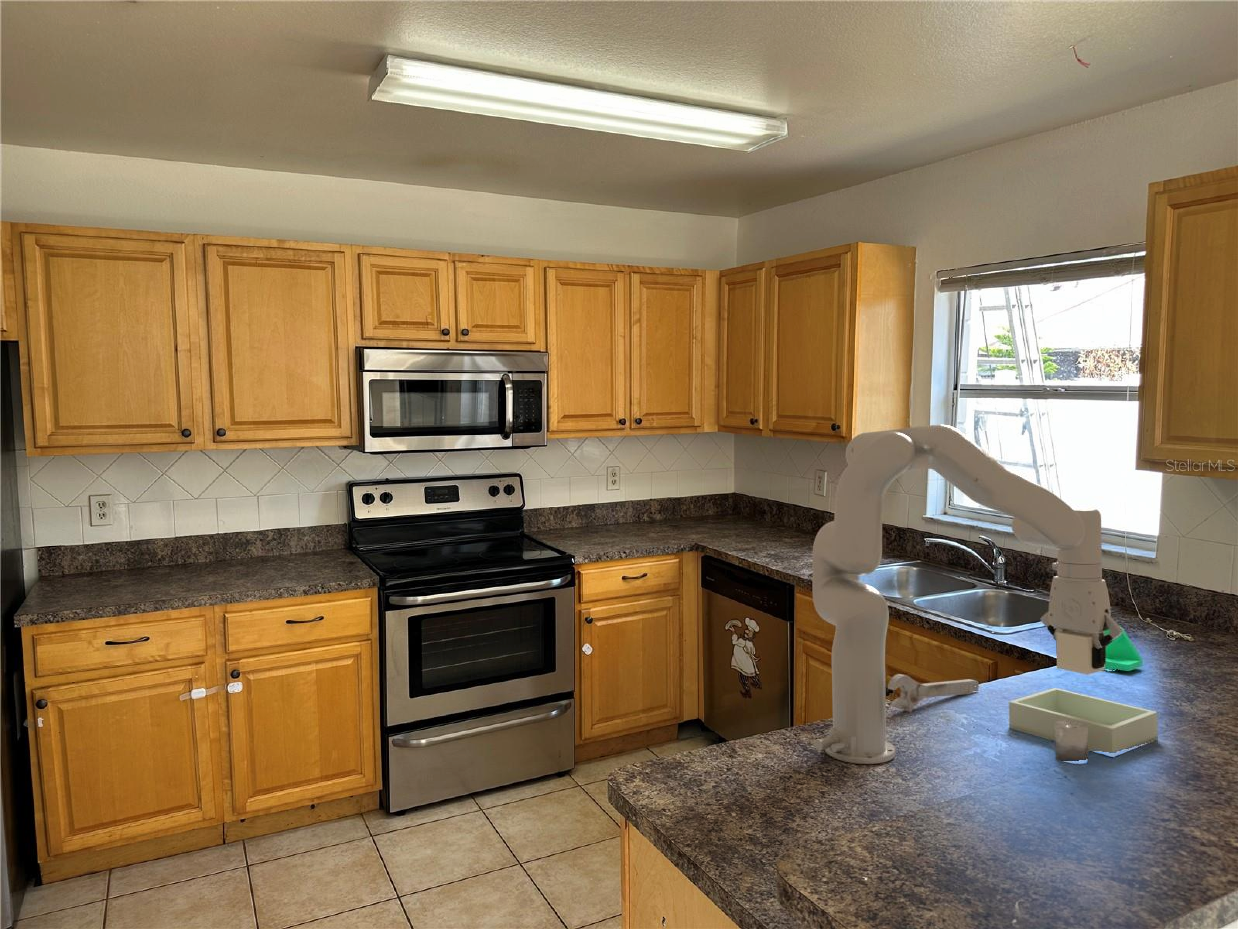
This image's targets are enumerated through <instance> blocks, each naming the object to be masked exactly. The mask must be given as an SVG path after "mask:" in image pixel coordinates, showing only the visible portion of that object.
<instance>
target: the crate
mask: <svg viewBox="0 0 1238 929" xmlns="http://www.w3.org/2000/svg"><path fill="white" fill-rule="evenodd" d="M1008 717H1009V718H1008V723H1009V727H1008V728H1009V729H1012V730H1015V731H1018V732H1021V733H1025V734H1029V735H1032V736H1036V737H1039V738H1042V739H1046V740H1050V741H1052V742H1055V723H1056V722H1059V721H1071V722H1077V723H1081V724H1084V725H1086V726H1087V727H1088V752H1090V751H1102V752H1109V753H1116V752H1117V751H1121V750H1123V749H1129V748H1132V747H1134V746H1139V745H1141V744H1145V743H1149V742H1151V743H1153V742H1152V741H1154V742H1156V741H1158V740H1159V737H1158V736H1159V735H1158V734H1159V733H1158V732H1159V730H1158V726H1159V723H1158V712H1157V711H1154V710H1151V709H1145V708H1142V707H1137V706H1134V705H1130V704H1126V703H1122V702H1117V701H1112V700H1108V699H1104V698H1100V697H1096V696H1091V695H1086V694H1082V693H1078V692H1076V691H1075V692H1074V691H1070V690H1066V689H1062V688H1058V687H1054V688H1049V689H1047V690H1043V691H1040V692H1036V693H1033V694H1029V695H1027V696H1023V697H1019V698H1016V699H1013V700H1010V701H1008ZM1155 740H1156V741H1155ZM1149 744H1150V743H1149Z"/></svg>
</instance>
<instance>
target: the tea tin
mask: <svg viewBox="0 0 1238 929" xmlns="http://www.w3.org/2000/svg"><path fill="white" fill-rule="evenodd" d="M1054 745H1055V746H1054V747H1055V748H1054V751H1055V753H1054V754H1055V759H1056V760H1057V761H1059V760H1060V761H1059V762H1062V761H1079V760H1086V759H1088V760H1089V751H1088V727H1087V726H1086V725H1084V724H1081V723H1077V722H1071V721H1059V722H1056V723H1055V741H1054Z"/></svg>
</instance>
